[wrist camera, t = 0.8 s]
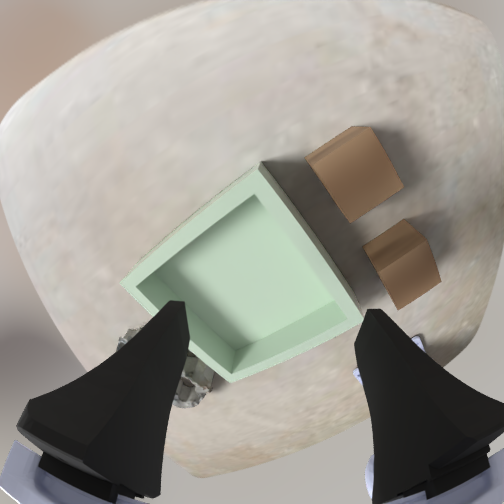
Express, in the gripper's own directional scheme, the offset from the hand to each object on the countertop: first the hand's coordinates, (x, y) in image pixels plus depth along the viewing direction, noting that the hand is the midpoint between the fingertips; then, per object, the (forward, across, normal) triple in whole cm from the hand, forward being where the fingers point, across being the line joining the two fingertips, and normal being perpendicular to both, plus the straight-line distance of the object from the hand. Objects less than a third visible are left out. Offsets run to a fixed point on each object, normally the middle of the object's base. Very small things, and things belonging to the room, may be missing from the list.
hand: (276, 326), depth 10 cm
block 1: (+10, -5, -5) cm, 12 cm away
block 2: (+10, -10, +2) cm, 14 cm away
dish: (+10, +2, +5) cm, 11 cm away
